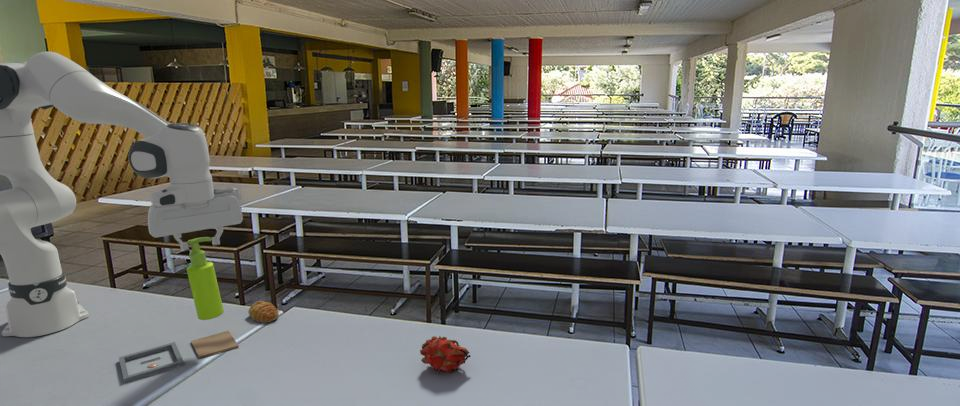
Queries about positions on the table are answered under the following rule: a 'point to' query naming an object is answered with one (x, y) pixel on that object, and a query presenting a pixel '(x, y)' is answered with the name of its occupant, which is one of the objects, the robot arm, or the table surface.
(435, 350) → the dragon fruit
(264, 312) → the pastry
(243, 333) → the table surface
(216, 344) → the walnut pad
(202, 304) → the soap dispenser
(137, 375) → the slate frame
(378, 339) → the table surface
